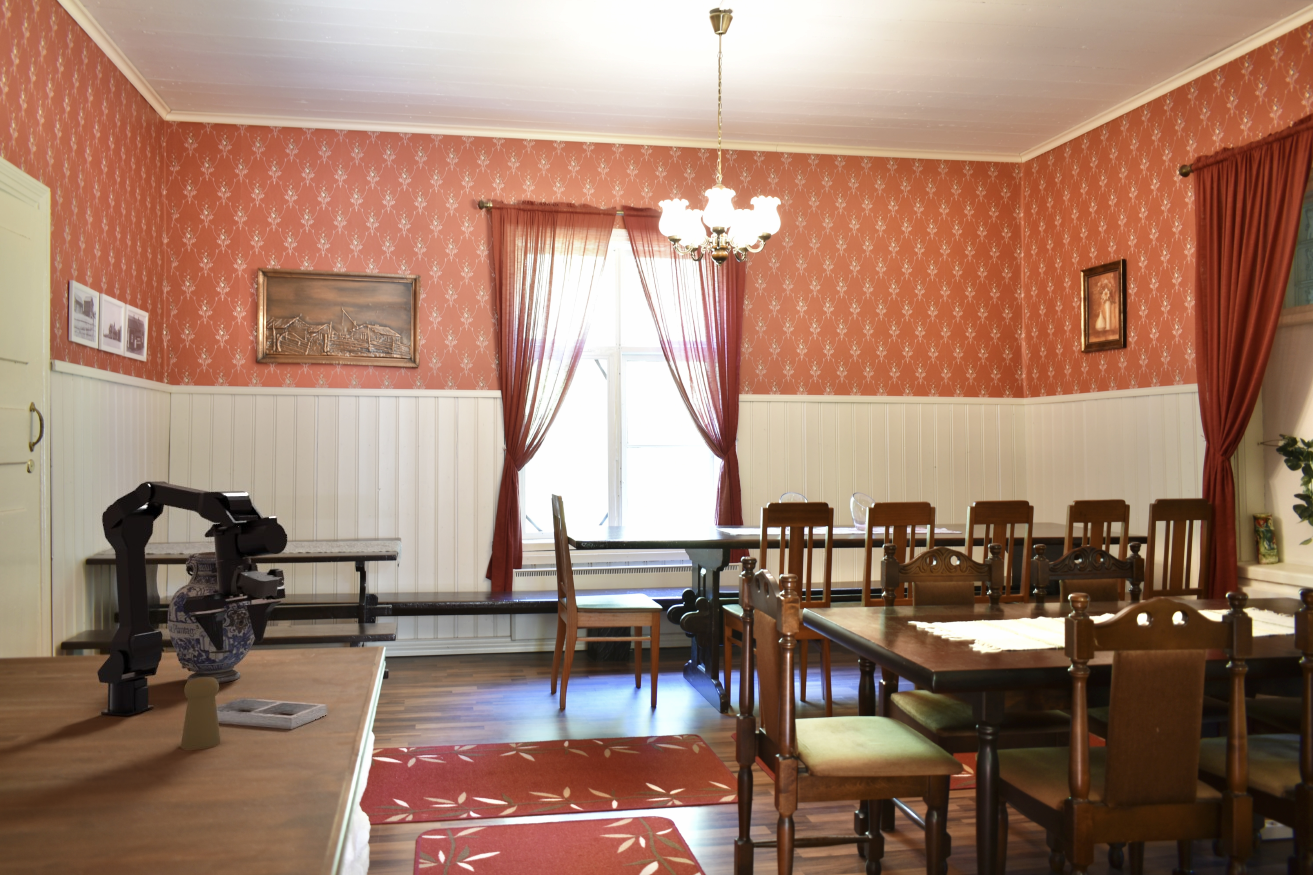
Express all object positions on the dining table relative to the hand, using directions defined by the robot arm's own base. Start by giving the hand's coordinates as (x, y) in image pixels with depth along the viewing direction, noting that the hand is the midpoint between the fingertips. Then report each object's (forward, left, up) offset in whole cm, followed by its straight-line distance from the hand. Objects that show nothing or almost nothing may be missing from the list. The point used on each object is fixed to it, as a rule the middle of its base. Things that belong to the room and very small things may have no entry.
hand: (240, 645), depth 168 cm
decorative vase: (-32, +30, -14) cm, 46 cm away
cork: (+3, -12, -14) cm, 19 cm away
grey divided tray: (+2, +5, -14) cm, 15 cm away
